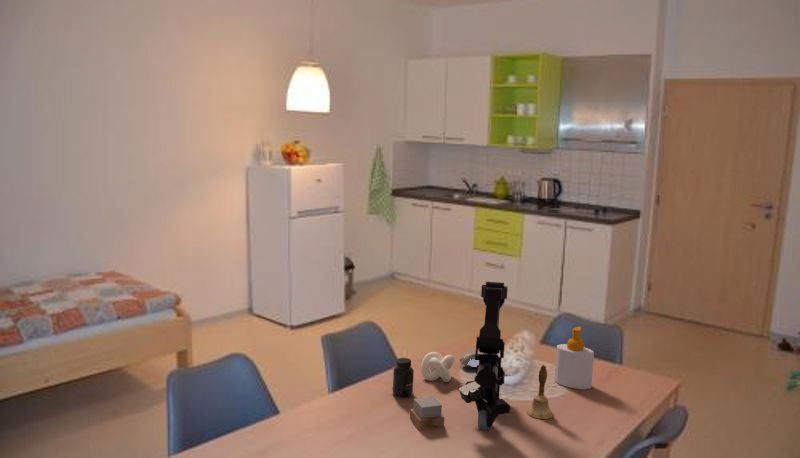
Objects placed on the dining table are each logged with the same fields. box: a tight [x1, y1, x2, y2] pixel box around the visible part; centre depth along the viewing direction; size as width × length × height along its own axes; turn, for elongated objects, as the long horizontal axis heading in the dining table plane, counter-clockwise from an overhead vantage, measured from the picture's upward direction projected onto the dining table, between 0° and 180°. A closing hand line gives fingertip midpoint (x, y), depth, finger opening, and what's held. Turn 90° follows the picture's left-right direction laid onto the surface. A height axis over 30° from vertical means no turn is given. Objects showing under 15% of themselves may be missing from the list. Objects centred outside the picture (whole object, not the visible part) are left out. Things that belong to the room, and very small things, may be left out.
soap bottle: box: [554, 326, 595, 390], centre depth 225 cm, size 13×8×20 cm, turn 58°
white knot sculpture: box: [420, 351, 455, 383], centre depth 228 cm, size 11×12×9 cm
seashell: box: [459, 353, 480, 367], centre depth 241 cm, size 12×8×5 cm
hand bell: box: [526, 364, 554, 420], centre depth 202 cm, size 8×8×16 cm
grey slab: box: [413, 395, 443, 419], centre depth 194 cm, size 6×6×4 cm
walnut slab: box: [409, 408, 445, 431], centre depth 195 cm, size 8×8×4 cm
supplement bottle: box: [392, 357, 415, 399], centre depth 214 cm, size 7×7×12 cm
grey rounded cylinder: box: [477, 409, 494, 431], centre depth 193 cm, size 4×4×4 cm
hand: (485, 423), depth 193 cm, fingers closed on grey rounded cylinder, 4 cm apart
